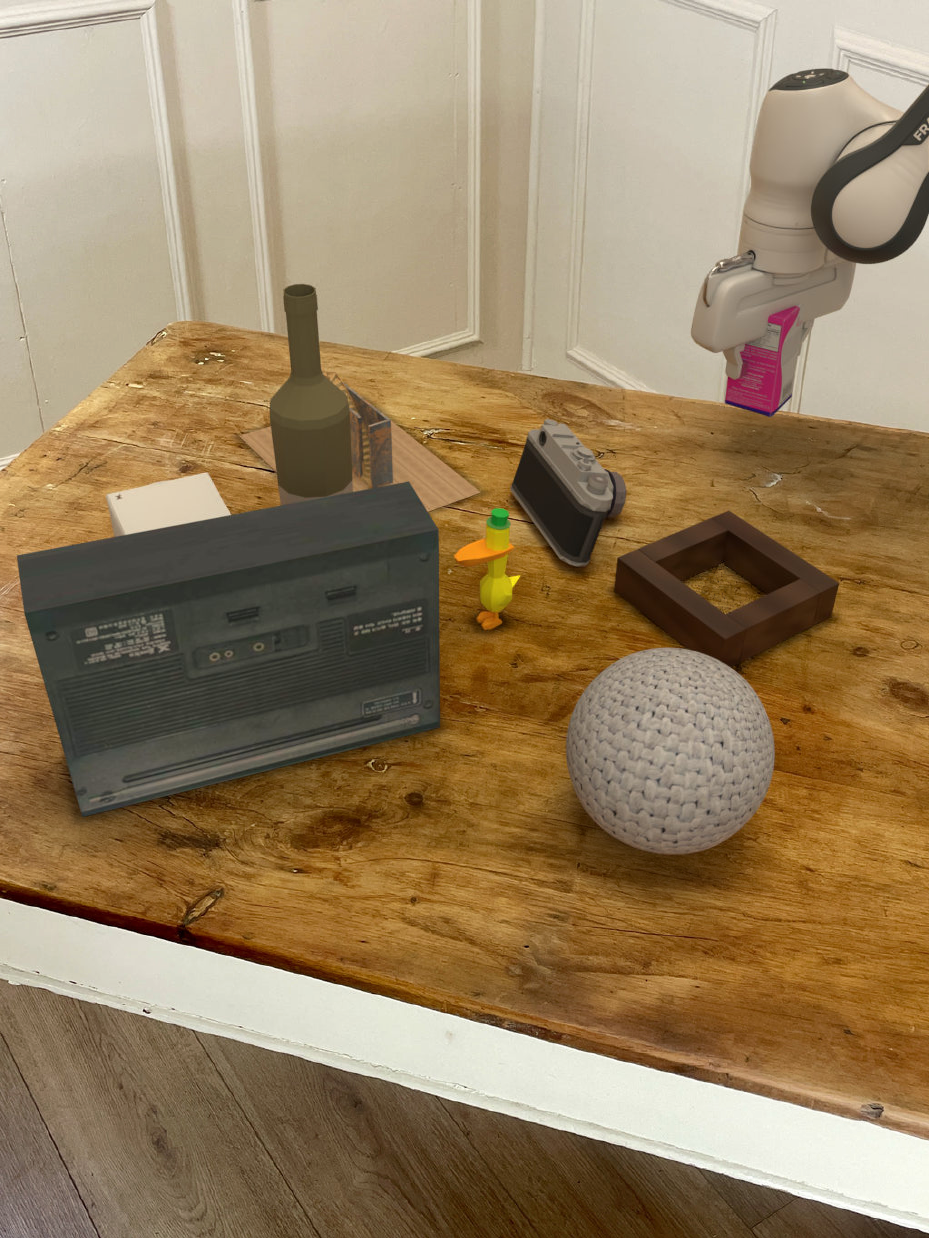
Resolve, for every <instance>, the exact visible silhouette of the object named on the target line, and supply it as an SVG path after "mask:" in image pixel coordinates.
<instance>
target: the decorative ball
mask: <svg viewBox="0 0 929 1238" xmlns="http://www.w3.org/2000/svg"><path fill="white" fill-rule="evenodd" d="M775 749H776V748H775V737H774V733H773V729H772V724H771V722H770V718H769V716H768V714H767V711H766V709H765V707H764V705H763V703H762V701H761V698H760V697H759V696H758V693H756V691H755V689H754V688H753V687H752V685H751V684H750V683H749V682H748V681H747V680H746V679H745V678H744V677H743V676H742V675H741V674H739V672H737V671H736V670H735V669H733V668H732V667H729V666H727V665H726V664H724V663H722V662H721V661H719V660H717V659H715V658H713V657H711V656H708V655H705V654H703V653H699V652H696V651H692V650H688V649H687V648H681V647H680V648H678V647H655V648H649V649H645V650H640V651H636V652H633V653H631V654H628V655H626V656H623V657H621V658H619V659H617V660H616V661H615V662H613V663H612V664H610V665H609V666H607V667H606V668H605V669H604V670H602V671H601V672H600V673H598V675H597V676H596V677H595V678H594V679H593V680H592V681H591V682H590V683H589V684H588V686H587V687H586V688H585V689H584V691H583V692H582V694H581V695H580V697H579V699H578V701H577V702H576V704H575V706H574V708H573V711H572V714H571V716H570V719H569V722H568V726H567V732H566V738H565V757H566V765H567V766H566V767H567V770H568V775H569V779H570V783H571V785H572V788H573V790H574V793H575V794H576V797H577V798H578V801H579V803H580V804H581V806H582V808H583V809H584V810H585V812H586V813H587V815H588V816H589V817H590V818H591V819H592V820H593V822H595V823H596V824H597V825H598V826H599V827H600V828H601V829H602V830H603V831H605V832H606V833H607V834H609V835H610V836H611V837H613V838H615V839H616V840H618V841H620V842H622V843H624V844H625V845H628V846H629V847H632V848H634V849H638V850H640V851H644V852H647V853H648V852H649V853H651V854H657V855H669V856H670V855H671V856H672V855H673V856H675V855H688V854H693V853H694V854H695V853H699V852H702V851H703V852H704V851H706V850H708V849H712V848H714V847H716V846H718V845H720V844H722V843H723V842H725V841H726V840H728V839H729V838H731V837H732V836H733V835H735V834H736V833H737V832H739V831H740V830H741V829H742V828H744V826H745V825H746V824H747V823H748V822H749V821H750V820H751V819H752V818H753V816H754V815H755V814H756V813H757V811H758V810H759V809H760V807H761V805H762V803H763V801H764V800H765V797H766V795H767V793H768V791H769V788H770V785H771V783H772V779H773V775H774V768H775V760H776V758H775V757H776V756H775V755H776V750H775Z"/></svg>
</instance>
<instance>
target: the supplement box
mask: <svg viewBox="0 0 929 1238" xmlns="http://www.w3.org/2000/svg"><path fill="white" fill-rule="evenodd" d="M803 306H804V304H799V305H796V306H793V307H790V308H788V309H785V310H782V311H780V312H777V313H775V314H772V315H770V316H769V318H768V323H767V330H766V333H765V336H764V337H761V338H758V339H755V340H752V341H750V342H747V343H745V347H744V350H743V351H741V352H740V355H741V358H742V360H745V361H747V362H748V368H747V370H746V371H747V374H746V375H745V376H743V377H741V378H738V379H735V380H734V379H732V378H730V377H728V376H727V380H726V387H725V395H724V396H725V397H724V404H725V405H728V406H732V407H734V408H737V409H742V410H745V411H749V412H752V413H756V414H759V415H762V416H765V417H768V418H772V417H773V416H774V415H776V413H778V412H779V410H780V409H781V408H782V407H783V406H784V405H786V403H787V402H789V400H790V399H792V397H793V388H794V383H795V382H794V381H795V378H796V377H795V376H796V371H797V364H798V357H799V356H798V351H799V345H800V339H801V332H802V325H803V323H802V312H803Z"/></svg>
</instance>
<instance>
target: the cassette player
mask: <svg viewBox="0 0 929 1238" xmlns="http://www.w3.org/2000/svg"><path fill="white" fill-rule="evenodd" d="M16 561H17V568H18V576H19V585H20V591H21V599H22V606H23V613H24V614H23V615H24V617H25V620H26V621H25V622H26V624H27V628H28V631H29V632H28V633H29V634H30V638H31V642H32V646H33V649H34V653H35V656H36V660H37V663H38V666H39V670H40V674H41V677H42V680H43V681H42V682H43V684H44V687H45V691H46V695H47V698H48V702H49V706H50V709H51V712H52V715H53V719H54V722H55V726H56V730H57V732H58V737H59V740H60V744H61V748H62V750H63V754H64V758H65V762H66V764H67V768H68V772H69V775H70V779H71V783H72V786H73V790H74V792H75V797H76V800H77V804H78V806H79V807H78V808H79V810H80V814H81V817H82V818H85V817H89V816H92V815H96V814H100V813H104V812H108V811H112V810H116V809H120V808H124V807H129V806H132V805H136V804H140V803H144V802H148V801H152V800H155V799H156V800H157V799H160V798H164V797H168V796H173V795H177V794H180V793H184V792H189V791H193V790H197V789H200V788H203V787H208V786H212V785H216V784H221V783H223V782H228V781H232V780H236V779H241V778H244V777H247V776H251V775H256V774H259V773H263V772H268V771H272V770H276V769H279V768H284V767H288V766H293V765H296V764H300V763H303V762H304V763H305V762H308V761H312V760H316V759H319V758H324V757H327V756H332V755H335V754H340V753H343V752H347V751H352V750H356V749H360V748H364V747H368V746H371V745H376V744H379V743H383V742H384V743H385V742H388V741H391V740H395V739H400V738H404V737H408V736H412V735H416V734H419V733H423V732H428V731H432V730H435V729H440V728H441V694H440V693H441V679H440V678H441V677H440V675H441V674H440V673H441V670H440V669H441V667H440V666H441V663H440V662H441V661H440V655H441V654H440V650H441V649H440V646H441V645H440V529H439V528H438V526H437V525H436V523H435V521H434V519H433V518H432V516H431V515H430V513H429V512H428V511H427V510H426V508H425V507H424V505H423V503H422V502H421V500H420V498H419V497H418V495H417V494H416V492H415V490H414V489H413V487H412V485H411V484H410V482H409V481H408V482H403V483H398V484H392V485H387V486H382V487H377V488H371V489H366V490H361V491H355V492H350V493H345V494H339V495H334V496H329V497H324V498H318V499H313V500H308V501H302V502H297V503H292V504H286V505H281V504H280V505H277V506H271V507H266V508H261V509H255V510H249V511H245V512H240V513H233V514H231V515H228V516H223V517H218V518H212V519H207V520H202V521H196V522H191V523H186V524H181V525H175V526H170V527H165V528H159V529H154V530H149V531H143V532H138V533H133V534H128V535H122V536H117V537H114V536H112V537H108V538H102V539H97V540H90V541H85V542H79V543H75V544H70V545H64V546H60V547H53V548H49V549H44V550H38V551H34V552H27V553H23V554H17V555H16Z"/></svg>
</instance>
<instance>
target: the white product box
mask: <svg viewBox="0 0 929 1238" xmlns="http://www.w3.org/2000/svg"><path fill="white" fill-rule="evenodd" d="M105 498H106V502H107V507H108V508H107V509H108V513H109V518H110V522H111V527H112V532H113V537H117V536H122V535H128V534H133V533H138V532H143V531H149V530H154V529H159V528H165V527H170V526H175V525H181V524H186V523H191V522H196V521H202V520H207V519H212V518H218V517H223V516H228V515H232V514H231V512H230V510H229V508H228V507H227V505H226V503H225V501H224V499H223V497H221V494H220V492H219V491H218V489H217V487H216V485H215V483H214V480H213V479H212V477H211V476H210V474H209V472H202V473H197V474H193V475H188V476H183V477H179V478H175V479H169V480H161V481H156V482H153V483H152V482H151V483H149V484H146V485H143V486H138V487H133V488H129V489H124V490H120V491H115V492H110V493H107V494H105Z"/></svg>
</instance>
